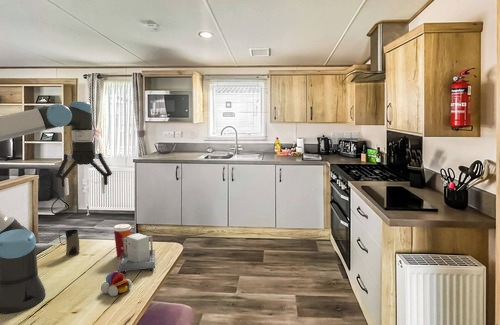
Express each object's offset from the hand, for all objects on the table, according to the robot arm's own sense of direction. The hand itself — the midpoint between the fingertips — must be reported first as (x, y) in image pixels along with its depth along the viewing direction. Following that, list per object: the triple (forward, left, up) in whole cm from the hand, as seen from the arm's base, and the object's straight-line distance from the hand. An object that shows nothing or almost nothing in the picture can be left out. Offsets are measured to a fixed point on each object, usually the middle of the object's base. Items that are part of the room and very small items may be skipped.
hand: (85, 193), depth 137 cm
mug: (-12, +20, -32) cm, 40 cm away
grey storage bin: (+19, -2, -32) cm, 37 cm away
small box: (+20, -2, -29) cm, 35 cm away
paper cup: (+12, +12, -32) cm, 36 cm away
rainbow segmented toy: (+13, -23, -32) cm, 41 cm away
